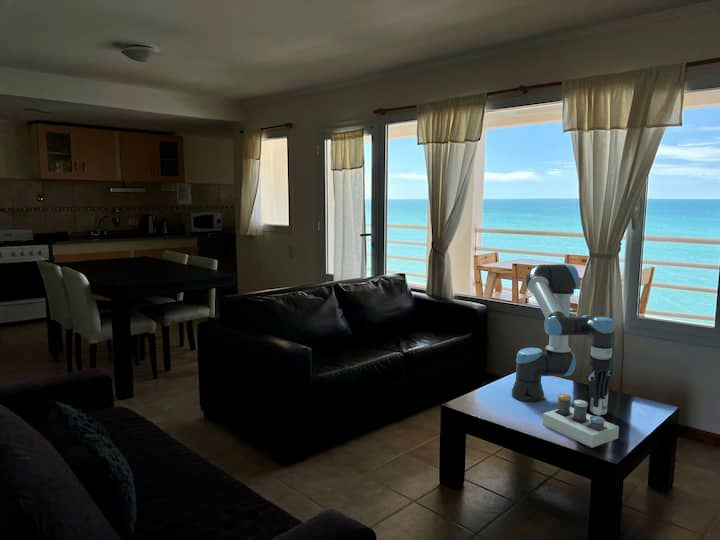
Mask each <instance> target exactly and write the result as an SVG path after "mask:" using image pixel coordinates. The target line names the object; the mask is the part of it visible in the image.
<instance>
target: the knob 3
mask: <svg viewBox="0 0 720 540" xmlns="http://www.w3.org/2000/svg"><path fill="white" fill-rule="evenodd" d="M590 421H591V424H590V428H592V429H594V430H596V431H602V430H604V422H605V421H606V419H605V418H604V417H602V416H600V415H592V416H591V417H590Z"/></svg>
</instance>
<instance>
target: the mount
mask: <svg viewBox="0 0 720 540" xmlns="http://www.w3.org/2000/svg"><path fill="white" fill-rule="evenodd" d="M591 416H593V415H592V414H590V413H587V414H586V423H578V422H576V421H574V420H573V419H574V407H572V406H570V415H569V416H562V415H559V414H558V408H556V409H554V410H550V411H549V410H548V411H547V412H542V426H545V427H547V428H550V429H551V430H553V431H555V432H558V433H560V434H562V435H563V436H566V437H568V438H571V439H572V440H575V441H577V442H579V443H581V444H583V445H586V446H587V447H589V448H596V447H598V446H601V445H603V444H606V443H609V442H612V441H615V440H617V439H619V431H620V427H619V425H616V424H614V423H611V422H608V421H606V420H605V422H604V430H602V431H596V430H594V429H592V428H590V424H591V421H590V417H591Z"/></svg>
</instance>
